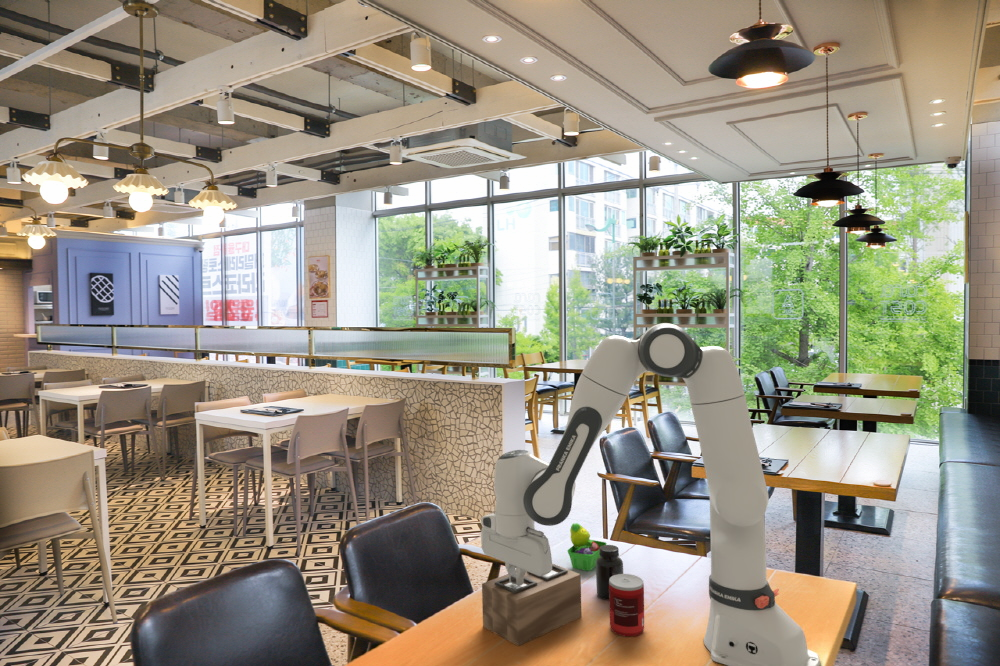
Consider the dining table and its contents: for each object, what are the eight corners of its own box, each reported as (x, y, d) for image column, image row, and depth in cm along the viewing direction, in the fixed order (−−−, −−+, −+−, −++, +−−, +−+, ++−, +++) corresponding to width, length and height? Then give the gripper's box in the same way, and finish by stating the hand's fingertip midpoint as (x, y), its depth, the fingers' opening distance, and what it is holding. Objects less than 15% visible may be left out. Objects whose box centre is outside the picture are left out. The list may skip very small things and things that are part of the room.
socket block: (581, 616, 155) (580, 571, 155) (518, 646, 142) (517, 597, 142) (545, 600, 164) (544, 558, 164) (482, 626, 151) (481, 580, 151)
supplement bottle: (622, 589, 169) (622, 543, 169) (625, 601, 163) (624, 553, 162) (595, 589, 170) (594, 542, 170) (596, 600, 163) (596, 552, 163)
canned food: (631, 618, 154) (631, 571, 153) (651, 633, 146) (651, 584, 146) (603, 624, 151) (602, 576, 151) (621, 640, 143) (620, 590, 143)
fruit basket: (592, 574, 180) (591, 533, 180) (562, 568, 185) (561, 528, 184) (608, 560, 190) (607, 521, 189) (579, 554, 194) (579, 516, 194)
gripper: (557, 530, 143) (559, 593, 143) (496, 510, 159) (498, 567, 159) (536, 537, 139) (538, 602, 139) (475, 516, 154) (477, 574, 155)
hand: (516, 583), depth 149 cm, fingers closed
